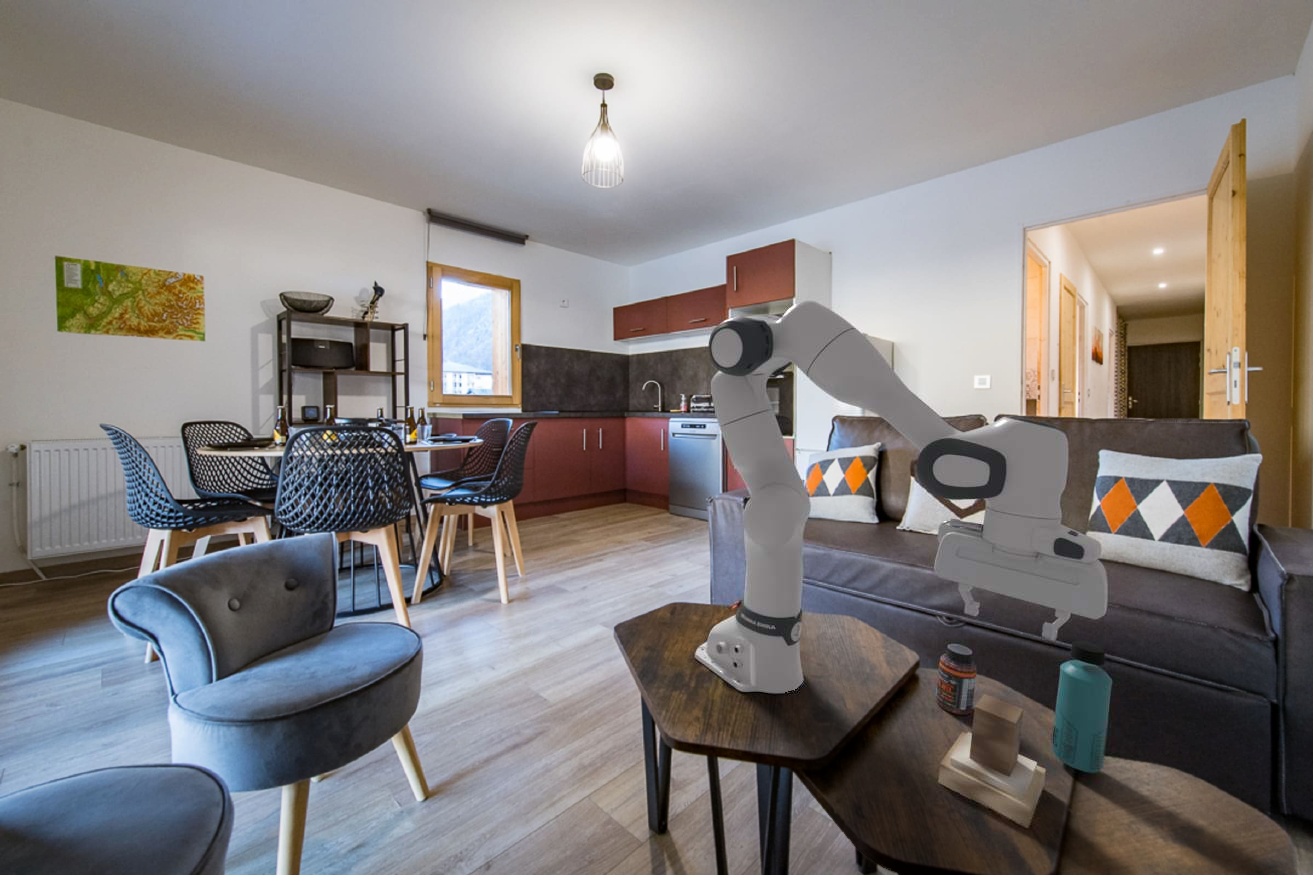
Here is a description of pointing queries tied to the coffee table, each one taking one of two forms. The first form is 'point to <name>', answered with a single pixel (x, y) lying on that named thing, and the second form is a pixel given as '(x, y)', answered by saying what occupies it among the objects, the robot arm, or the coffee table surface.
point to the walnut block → (996, 734)
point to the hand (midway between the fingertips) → (1008, 625)
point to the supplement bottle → (956, 680)
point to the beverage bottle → (1082, 709)
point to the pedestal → (993, 781)
